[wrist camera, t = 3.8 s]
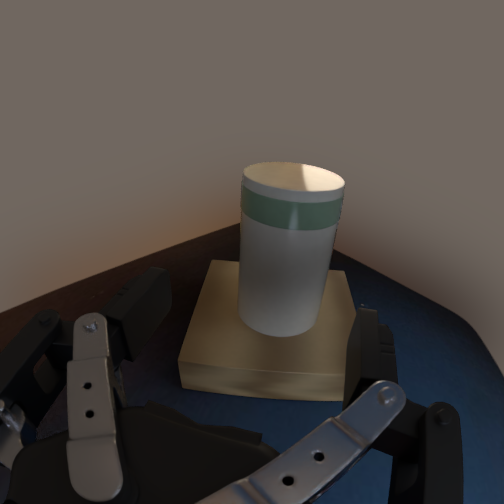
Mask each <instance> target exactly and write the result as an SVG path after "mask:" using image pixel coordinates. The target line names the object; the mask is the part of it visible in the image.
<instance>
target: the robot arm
mask: <svg viewBox="0 0 504 504" xmlns="http://www.w3.org/2000/svg"><path fill="white" fill-rule="evenodd" d="M171 304H172V294H171V285H170V275H169V271H168V270H166V269H161V268H157V267H150V268H149V269H148V270H147V271H146V272H145V273H144V274H143V275H142V276H141V275H138V276H136V277H134V278H132V279H131V280H129V281H128V282H127V283H126V284H125V285H124V286H123V287H122V289H120V290H119V291H118V292H117V294H115V295H114V297H113V298H112V299H111V300H110V301H109V302H108V303H107V304H106V305H105V306H104V307H103V308H102V309H101V310H100V311H99V313H88V314H85V315H83V316H81V317H80V318H78V319H77V320H76V322H73V321H61V319H60V316H59V314H58V312H57V311H55V310H51V309H47V310H43V311H40V312H39V313H37V314H36V315H35V316H34V317H33V318H32V319H31V320H30V321H29V322H28V323H27V324H26V325H25V326H24V327H23V328H22V330H21V331H20V332H19V333H18V334H17V335H16V336H15V337H14V338H13V339H12V341H11V342H10V343H9V344H8V345H7V346H6V347H5V348H4V350H3V351H2V352H1V353H0V466H2V467H7V468H8V469H9V470H11V480H10V486H9V491H8V494H7V497H6V500H5V501H4V503H3V504H312V503H313V502H315V501H316V500H317V499H318V498H320V497H321V496H322V495H323V494H324V493H325V492H327V491H328V490H329V489H330V488H331V487H332V486H333V485H334V484H335V483H336V482H337V481H338V480H340V479H341V478H342V477H343V476H344V475H345V474H346V473H347V472H348V471H349V470H350V469H351V468H352V467H353V466H354V465H355V464H356V463H357V462H358V461H359V460H360V459H361V458H362V457H363V456H364V455H365V454H366V453H367V452H368V451H369V450H370V449H371V448H374V449H376V450H379V451H381V452H384V453H386V454H389V455H391V456H393V462H392V472H391V482H390V490H389V498H388V504H463V454H462V439H461V427H460V418H459V414H458V412H457V411H456V409H455V408H454V407H453V406H451V405H450V404H448V403H445V402H435V403H433V404H431V405H430V406H429V407H428V408H426V407H424V406H421V405H419V404H416V403H414V402H411V401H410V400H408V399H407V398H406V395H405V393H404V391H403V389H402V388H401V387H400V386H399V385H398V378H397V367H396V357H395V348H394V339H393V334H392V332H391V331H390V329H389V327H388V326H387V325H385V324H379V323H378V313H377V310H372V309H365V308H358V311H357V314H356V317H355V320H354V323H353V326H352V329H351V332H350V335H349V338H348V342H347V348H346V366H345V382H344V396H343V408H342V413H340V414H339V415H338V416H337V417H335V418H334V417H333V416H332V417H330V418H328V419H327V420H325V421H324V422H323V423H322V424H320V425H319V426H318V427H317V428H315V429H314V430H313V431H311V432H310V433H309V434H308V435H306V436H305V437H304V438H302V439H301V440H300V441H298V442H297V443H296V444H294V445H293V446H292V447H290V448H289V449H288V450H286V451H285V452H283V453H282V454H280V453H279V452H277V451H276V450H275V449H274V448H272V447H271V446H269V445H267V444H266V443H264V442H261V439H262V433H257V432H253V431H249V430H244V429H240V428H236V427H232V426H213V425H201V424H198V423H196V422H195V421H193V420H191V419H190V418H188V417H186V416H185V415H183V414H181V413H180V412H178V411H177V410H175V409H173V408H170V407H167V406H164V405H161V404H158V403H156V402H153V401H150V400H148V402H147V403H146V405H145V407H138V406H134V407H128V403H127V399H126V393H125V388H124V381H123V375H122V368H121V365H120V363H121V361H122V360H123V359H126V360H128V361H131V362H133V361H134V360H135V359H136V357H137V356H138V354H139V353H140V351H141V350H142V349H143V347H144V346H145V344H146V343H147V341H148V340H149V339H150V337H151V336H152V334H153V333H154V332H155V330H156V329H157V327H158V326H159V325H160V323H161V322H162V320H163V319H164V318H165V316H166V315H167V313H168V312H169V310H170V308H171ZM44 353H45V355H46V357H47V359H46V360H45V361H44V362H43V364H42V365H41V366H40V367H39V369H38V370H37V371H36V373H35V374H34V375H33V368H34V366H35V364H36V363H37V361H38V360H39V359H40V358H41V356H42V355H43V354H44ZM66 383H67V408H68V427H69V429H68V430H66V431H63V432H60V433H58V434H55V435H52V436H50V437H47V438H44V439H41V440H39V441H37V440H36V435H37V430H36V428H37V427H38V425H39V423H40V422H41V420H42V419H43V417H44V416H45V414H46V413H47V411H48V410H49V408H50V407H51V405H52V404H53V402H54V401H55V399H56V398H57V396H58V395H59V393H60V392H61V391H62V389H63V388H64V386H65V385H66Z"/></svg>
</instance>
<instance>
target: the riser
mask: <svg viewBox="0 0 504 504" xmlns="http://www.w3.org/2000/svg"><path fill="white" fill-rule="evenodd" d="M238 272H239V262H232V261H221V260H212V261H211V264H210V267H209V270H208V273H207V275H206V278H205V281H204V284H203V287H202V290H201V293H200V295H199V298H198V301H197V304H196V307H195V310H194V313H193V316H192V319H191V321H190V324H189V327H188V330H187V333H186V336H185V339H184V342H183V345H182V348H181V351H180V354H179V357H178V366H179V372H180V378H181V383H182V388H186V389H192V390H199V391H206V392H213V393H221V394H229V395H238V396H248V397H259V398H272V399H287V400H310V401H343V396H344V382H345V366H346V348H347V342H348V338H349V335H350V332H351V329H352V326H353V323H354V320H355V317H356V311H355V308H354V304H353V300H352V297H351V293H350V290H349V286H348V283H347V279H346V276H345V273H344V271H336V270H329V271H328V276H327V281H326V285H325V290H324V294H323V298H322V303H321V307H320V311H319V315H318V319H317V321H316V323H315V324H314V325H313V326H312V327H311V328H310V329H309V330H307V331H306V332H304V333H301V334H299V335H295V336H289V337H276V336H269V335H265V334H262V333H259V332H257V331H255V330H253V329H252V328H250V327H249V326H247V325H246V324H245V323H244V322H243V321H242V319H241V318H240V316H239V314H238V311H237V298H238Z"/></svg>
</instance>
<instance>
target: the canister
mask: <svg viewBox="0 0 504 504" xmlns="http://www.w3.org/2000/svg"><path fill="white" fill-rule="evenodd" d="M344 186H345V182H344V180H343V179H342V178H341V177H340V176H338V175H337V174H335V173H332V172H330V171H327V170H325V169H322V168H318V167H314V166H310V165H304V164H297V163H288V162H267V163H259V164H254V165H251V166H248V167H246V168H245V169H244V171H243V180H242V186H241V225H240V248H239V272H238V298H237V311H238V314H239V316H240V318H241V319H242V321H243V322H244V323H245V324H246V325H247V326H249V327H250V328H252V329H253V330H255V331H257V332H259V333H262V334H265V335H269V336H276V337H289V336H295V335H299V334H301V333H304V332H306V331H307V330H309V329H310V328H311V327H312V326H313V325H314V324H315V323H316V321H317V319H318V315H319V311H320V307H321V303H322V298H323V294H324V290H325V285H326V281H327V276H328V271H329V267H330V262H331V257H332V252H333V247H334V242H335V237H336V232H337V226H338V221H339V219H340V214H341V209H342V203H343V197H344Z"/></svg>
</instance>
